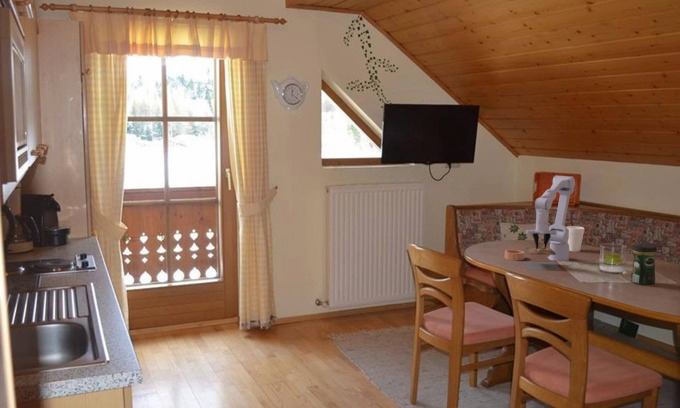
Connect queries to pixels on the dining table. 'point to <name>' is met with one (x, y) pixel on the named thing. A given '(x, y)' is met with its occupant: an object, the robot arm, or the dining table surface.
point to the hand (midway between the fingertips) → (540, 248)
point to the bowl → (514, 255)
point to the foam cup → (575, 238)
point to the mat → (541, 265)
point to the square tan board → (541, 250)
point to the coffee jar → (644, 263)
